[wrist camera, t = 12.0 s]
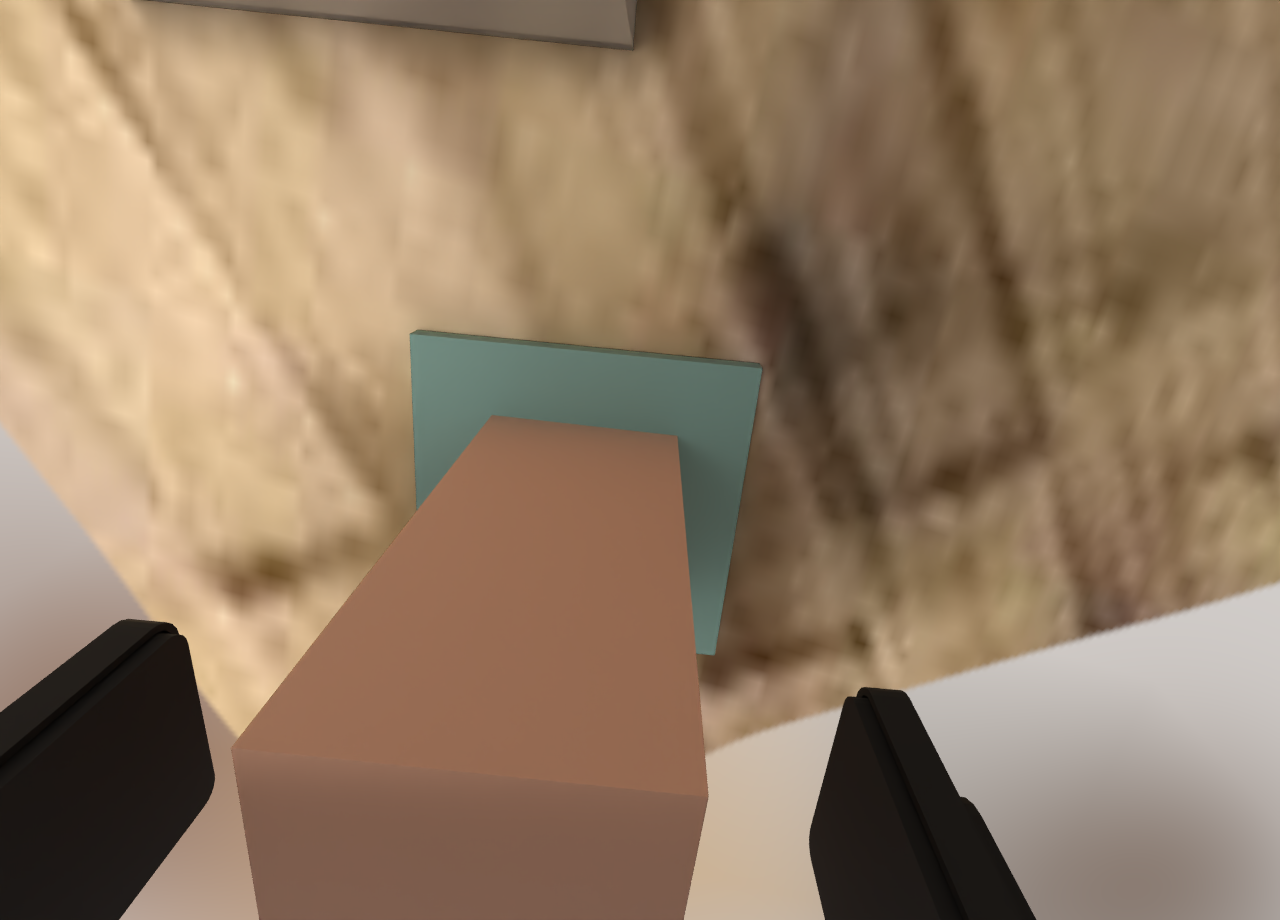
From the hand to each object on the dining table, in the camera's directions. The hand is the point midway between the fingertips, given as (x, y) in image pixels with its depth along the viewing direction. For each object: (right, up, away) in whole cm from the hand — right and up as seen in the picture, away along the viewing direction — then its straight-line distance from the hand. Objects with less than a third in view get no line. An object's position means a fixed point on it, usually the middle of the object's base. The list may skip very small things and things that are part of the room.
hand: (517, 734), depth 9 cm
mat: (0, +3, +7) cm, 8 cm away
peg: (0, +3, +7) cm, 7 cm away
